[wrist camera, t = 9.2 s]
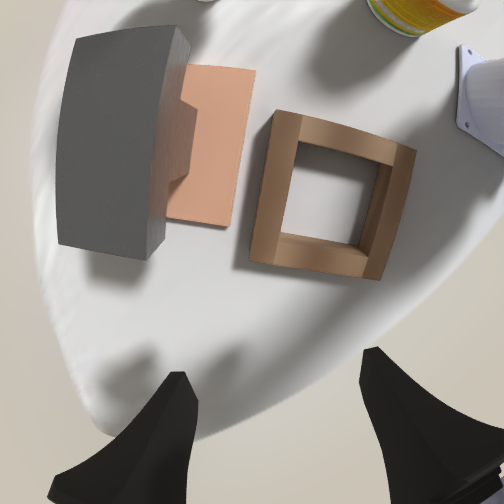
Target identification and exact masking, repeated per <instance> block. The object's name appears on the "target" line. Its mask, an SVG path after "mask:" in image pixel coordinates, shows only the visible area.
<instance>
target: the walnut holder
mask: <svg viewBox="0 0 504 504" xmlns="http://www.w3.org/2000/svg"><path fill="white" fill-rule="evenodd" d="M298 142H301V143H306V144H310V145H315V146H319V147H323V148H327V149H331V150H335V151H339V152H342V153H346V154H350V155H353V156H357V157H360V158H364V159H367V160H370V161H374V162H377V163H379V168H378V172H377V177H376V181H375V185H374V190H373V194H372V198H371V202H370V206H369V210H368V213H367V217H366V221H365V224H364V228H363V231H362V235H361V238H360V242H359V245H358V246H355V245H349V244H344V243H339V242H333V241H328V240H322V239H317V238H311V237H305V236H300V235H294V234H288V233H282V232H280V230H281V225H282V221H283V216H284V211H285V206H286V201H287V196H288V191H289V186H290V181H291V176H292V171H293V166H294V161H295V155H296V150H297V145H298ZM416 151H417V150H414V149H412V148H409V147H407V146H404V145H401V144H399V143H396V142H393V141H391V140H388V139H385V138H382V137H379V136H376V135H373V134H370V133H367V132H364V131H361V130H358V129H355V128H351V127H348V126H345V125H341V124H337V123H334V122H330V121H326V120H322V119H318V118H314V117H310V116H306V115H301V114H297V113H292V112H287V111H282V110H277V109H276V110H275V112H274V114H273V119H272V125H271V130H270V136H269V141H268V147H267V152H266V158H265V163H264V169H263V175H262V180H261V186H260V191H259V197H258V203H257V208H256V214H255V219H254V225H253V231H252V236H251V242H250V248H249V261H252V262H259V263H265V264H272V265H278V266H284V267H291V268H298V269H304V270H311V271H317V272H324V273H331V274H337V275H344V276H351V277H358V278H365V279H371V280H378V281H380V279H381V277H382V274H383V271H384V268H385V266H386V263H387V260H388V257H389V254H390V251H391V248H392V245H393V242H394V239H395V235H396V232H397V229H398V225H399V222H400V219H401V215H402V211H403V208H404V204H405V200H406V196H407V192H408V188H409V184H410V180H411V175H412V171H413V166H414V161H415V156H416Z"/></svg>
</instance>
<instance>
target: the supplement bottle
mask: <svg viewBox="0 0 504 504" xmlns="http://www.w3.org/2000/svg"><path fill="white" fill-rule="evenodd" d="M367 3H368V5H369V7H370V9H371V11H372V12H373V14H374V15H375V16H376V17H377V18H378V20H379V21H381V22H382V23H383V24H384V25H385V26H387V27H388V28H389V29H391V30H393V31H395V32H397V33H399V34H401V35H404V36H409V37H418V36H421V35H423V34H426V33H428V32H430V31H431V30H433V29H435V28H437V27H439V26H442V25H444V24H446V23H448V22H450V21H452V20H455V19H457V18H459V17H461V16H464V15H466V14H469V13H471V12H473V11H475V10H476V9H477V8H478V7H479V5H480V0H367Z"/></svg>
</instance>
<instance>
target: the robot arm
mask: <svg viewBox="0 0 504 504" xmlns="http://www.w3.org/2000/svg"><path fill="white" fill-rule="evenodd" d="M468 52H469V53H468ZM459 56H460V72H459V96H458V109H457V119H456V123H457V125H458V127H459V128H460V129H462V130H464V131H465V132H467V133H469V134H470V135H472V136H473V137H475V138H477V139H478V140H480V141H481V142H483V143H484V144H486V145H487V146H489V147H490V148H492V149H493V150H494V151H496V152H497V153H499V154H500V155H501V156H503V157H504V58H501V59H495V60H489V61H486V60H485V59H484V58H482V57H481V56H480V55H478V54H477V53H476V52H475V51H473V50H472V49H470V48H469V47H468V46H466V45H465V44H461V45H459ZM465 123H466V126H465ZM359 384H360V389H361V392H362V396H363V400H364V404H365V406H366V409H367V411H368V414H369V417H370V419H371V422H372V424H373V427H374V430H375V432H376V435H377V438H378V441H379V443H380V446H381V449H382V453H383V458H384V463H385V467H386V472H387V477H388V484H389V492H390V500H391V504H504V476H503V477H502V478H500V477H499V474H500V473H501V468H500V465H501V464H502V463H503V462H504V429H502V428H498V427H494V426H491V425H488V424H485V423H483V422H480V421H477V420H475V419H473V418H471V417H468V416H467V415H464V414H462V413H460V412H458V411H456V410H455V409H453V408H451V407H450V406H448V405H446V404H445V403H443V402H442V401H440V400H439V399H437V398H436V397H434V396H433V395H432V394H430V393H429V392H428V391H426V390H425V389H424V388H423V387H421V386H420V385H419V384H418V383H417V382H415V381H414V380H413V379H412V378H411V377H410V376H409V375H407V374H406V373H405V372H404V371H403V370H402V369H401V368H400V367H399V366H398V365H397V364H395V363H394V362H393V361H392V360H391V359H390V358H389V357H388V356H387V355H386V354H385V353H384V352H383V351H382V350H381V349H380V348H379V347H378V346H377V347H373V348H369V349H364V351H363V358H362V365H361V372H360V378H359ZM197 417H198V399H197V397H196V395H195V393H194V391H193V389H192V387H191V384H190V382H189V380H188V378H187V376H186V374H185V371H184V372H170V373H169V375H168V376H167V377H166V379H165V380H164V381H163V383H162V384H161V385H160V387H159V388H158V390H157V391H156V392H155V394H154V395H153V396H152V398H151V399H150V400H149V401H148V403H147V404H146V405H145V406H144V408H143V409H142V410H141V411H140V413H139V414H138V415H137V416H136V417H135V418H134V419H133V420H132V422H131V423H130V424H129V425H128V426H127V427H126V428H125V429H124V430H123V431H122V432H121V433H120V434H119V435H118V436H117V437H116V438H115V439H114V440H113V441H111V442H110V443H109V444H108V445H107V446H105V447H104V448H103V449H102V450H100V451H99V452H97V453H96V454H95V455H93V456H92V457H90V458H89V459H87V460H86V461H84V462H82V463H80V464H79V465H77V466H75V467H73V468H71V469H69V470H67V471H65V472H63V473H60V474H58V475H56V476H55V477H54V480H53V482H52V485H51V488H50V490H49V493H48V496H47V498H48V499H49V500H50V501H52V502H53V503H55V504H186V488H187V472H188V465H189V460H190V455H191V450H192V445H193V440H194V435H195V430H196V425H197Z"/></svg>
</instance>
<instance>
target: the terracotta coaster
mask: <svg viewBox="0 0 504 504" xmlns="http://www.w3.org/2000/svg"><path fill="white" fill-rule="evenodd" d="M255 75H256V70H249V69H241V68H232V67H222V66H210V65H192V64H187V67H186V72H185V77H184V82H183V87H182V93H181V98H180V99H181V100H182V101H184V102H186V103H188V104H189V105H191V106H193V107H194V108H196V109H198V113H197V120H196V126H195V132H194V139H193V146H192V154H191V161H190V169H189V173H188V174H186V175H184V176H182V177H180V178H178V179H175V180H173V181H171V182H169V189H168V200H167V214H166V217H169V218H175V219H182V220H189V221H196V222H202V223H209V224H215V225H222V226H228V227H230V223H231V216H232V209H233V203H234V196H235V190H236V184H237V178H238V171H239V165H240V159H241V153H242V147H243V142H244V136H245V130H246V124H247V119H248V113H249V108H250V102H251V97H252V91H253V86H254V81H255Z"/></svg>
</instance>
